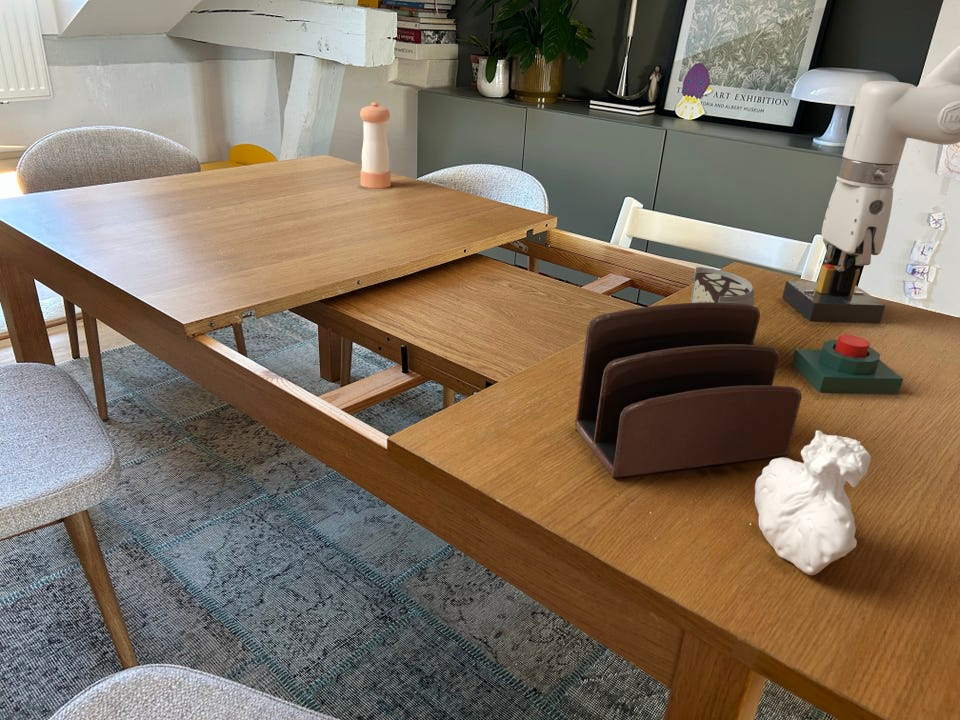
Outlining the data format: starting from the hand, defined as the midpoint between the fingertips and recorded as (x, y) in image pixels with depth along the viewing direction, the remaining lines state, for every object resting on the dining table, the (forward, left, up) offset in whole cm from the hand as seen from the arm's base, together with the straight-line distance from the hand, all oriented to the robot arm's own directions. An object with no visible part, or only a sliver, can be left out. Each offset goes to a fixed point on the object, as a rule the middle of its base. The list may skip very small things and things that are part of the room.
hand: (834, 291), depth 114 cm
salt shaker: (+77, -76, -3) cm, 108 cm away
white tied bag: (+30, +56, -3) cm, 63 cm away
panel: (0, 0, -3) cm, 3 cm away
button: (+10, +24, 0) cm, 26 cm away
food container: (+24, +17, -3) cm, 30 cm away
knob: (0, 0, 0) cm, 0 cm away
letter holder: (+36, +40, -3) cm, 54 cm away
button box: (+10, +24, -3) cm, 26 cm away
